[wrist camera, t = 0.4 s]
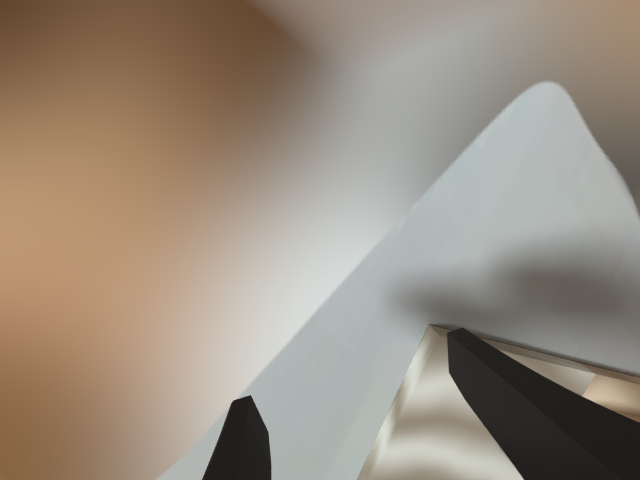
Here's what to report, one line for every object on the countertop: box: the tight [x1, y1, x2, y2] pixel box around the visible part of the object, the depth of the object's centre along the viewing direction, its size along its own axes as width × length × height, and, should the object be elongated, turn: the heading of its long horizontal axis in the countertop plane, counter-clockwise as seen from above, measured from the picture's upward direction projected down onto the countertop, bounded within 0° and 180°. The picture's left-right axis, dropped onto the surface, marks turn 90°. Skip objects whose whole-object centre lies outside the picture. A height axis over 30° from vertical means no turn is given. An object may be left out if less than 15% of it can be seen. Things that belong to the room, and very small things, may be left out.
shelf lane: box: [357, 325, 640, 480], centre depth 26 cm, size 16×26×4 cm, turn 71°
